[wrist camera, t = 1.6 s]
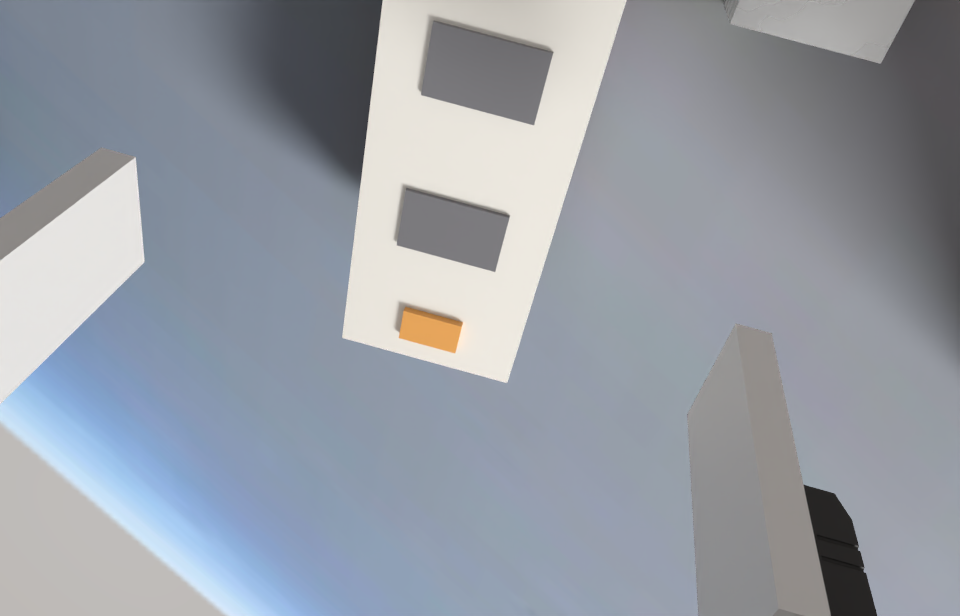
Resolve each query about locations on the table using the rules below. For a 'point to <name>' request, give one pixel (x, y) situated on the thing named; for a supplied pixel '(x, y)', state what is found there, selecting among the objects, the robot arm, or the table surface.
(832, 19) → the keyhole plate
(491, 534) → the table surface
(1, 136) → the table surface
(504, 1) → the power strip
